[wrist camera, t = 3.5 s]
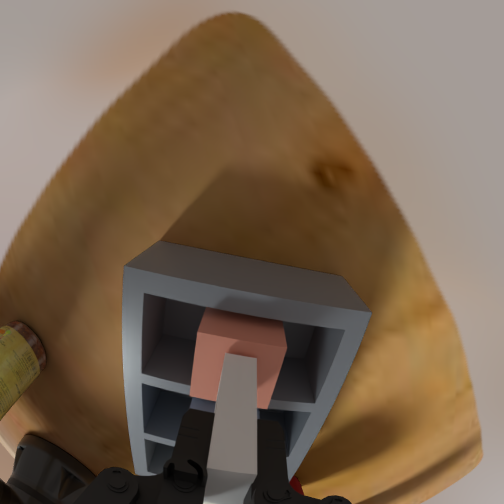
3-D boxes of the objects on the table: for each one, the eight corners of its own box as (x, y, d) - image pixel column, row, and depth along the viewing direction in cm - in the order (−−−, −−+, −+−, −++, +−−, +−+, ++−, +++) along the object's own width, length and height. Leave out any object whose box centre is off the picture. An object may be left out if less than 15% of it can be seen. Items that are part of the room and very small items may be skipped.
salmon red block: (203, 347, 19) (189, 396, 14) (211, 291, 18) (197, 331, 13) (264, 358, 19) (267, 409, 14) (279, 304, 18) (287, 347, 13)
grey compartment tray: (151, 430, 25) (135, 473, 19) (159, 240, 20) (123, 265, 14) (275, 452, 25) (278, 497, 19) (342, 276, 20) (372, 312, 14)
